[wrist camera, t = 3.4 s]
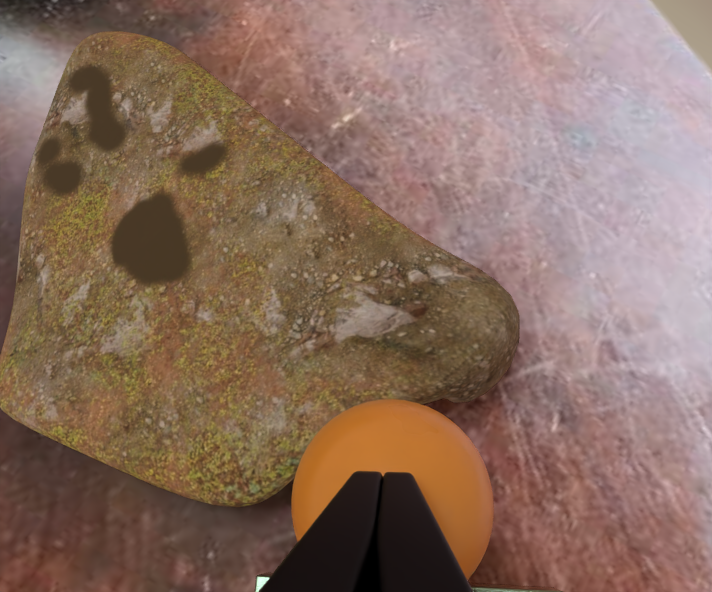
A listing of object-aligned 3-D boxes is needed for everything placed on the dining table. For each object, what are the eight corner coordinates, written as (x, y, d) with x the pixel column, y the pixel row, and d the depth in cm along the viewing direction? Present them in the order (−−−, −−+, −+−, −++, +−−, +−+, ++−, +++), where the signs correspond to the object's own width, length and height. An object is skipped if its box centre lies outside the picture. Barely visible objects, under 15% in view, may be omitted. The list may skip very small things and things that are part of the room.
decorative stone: (542, 350, 19) (541, 301, 15) (225, 677, 19) (126, 727, 14) (179, 50, 31) (117, -29, 26) (-26, 248, 30) (-125, 201, 26)
